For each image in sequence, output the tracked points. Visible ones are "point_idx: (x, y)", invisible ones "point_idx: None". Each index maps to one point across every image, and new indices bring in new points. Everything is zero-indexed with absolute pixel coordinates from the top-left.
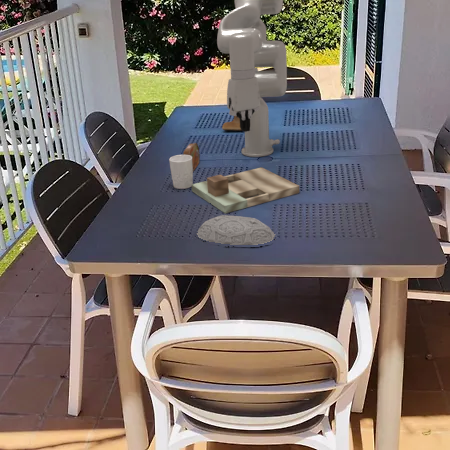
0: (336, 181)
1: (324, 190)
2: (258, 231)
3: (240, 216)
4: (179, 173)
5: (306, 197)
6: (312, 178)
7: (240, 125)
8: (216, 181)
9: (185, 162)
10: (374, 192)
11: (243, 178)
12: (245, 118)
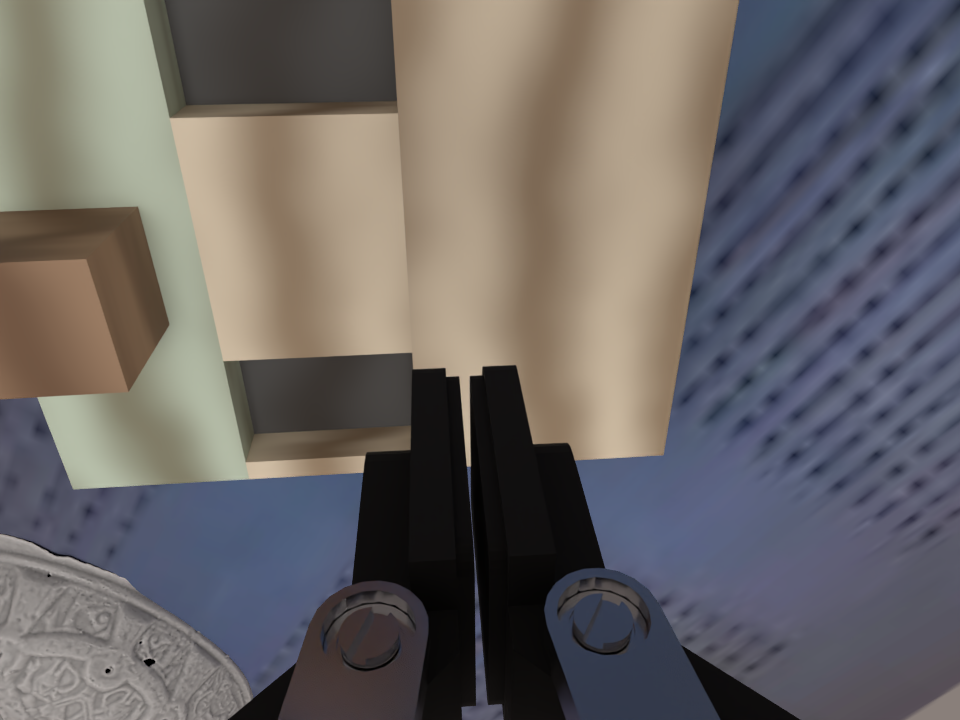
0: (946, 393)
1: (779, 462)
2: None
3: (97, 688)
4: None
5: (630, 489)
6: (905, 270)
7: (364, 502)
8: (3, 395)
9: None
10: (916, 586)
11: (423, 93)
12: (507, 644)
